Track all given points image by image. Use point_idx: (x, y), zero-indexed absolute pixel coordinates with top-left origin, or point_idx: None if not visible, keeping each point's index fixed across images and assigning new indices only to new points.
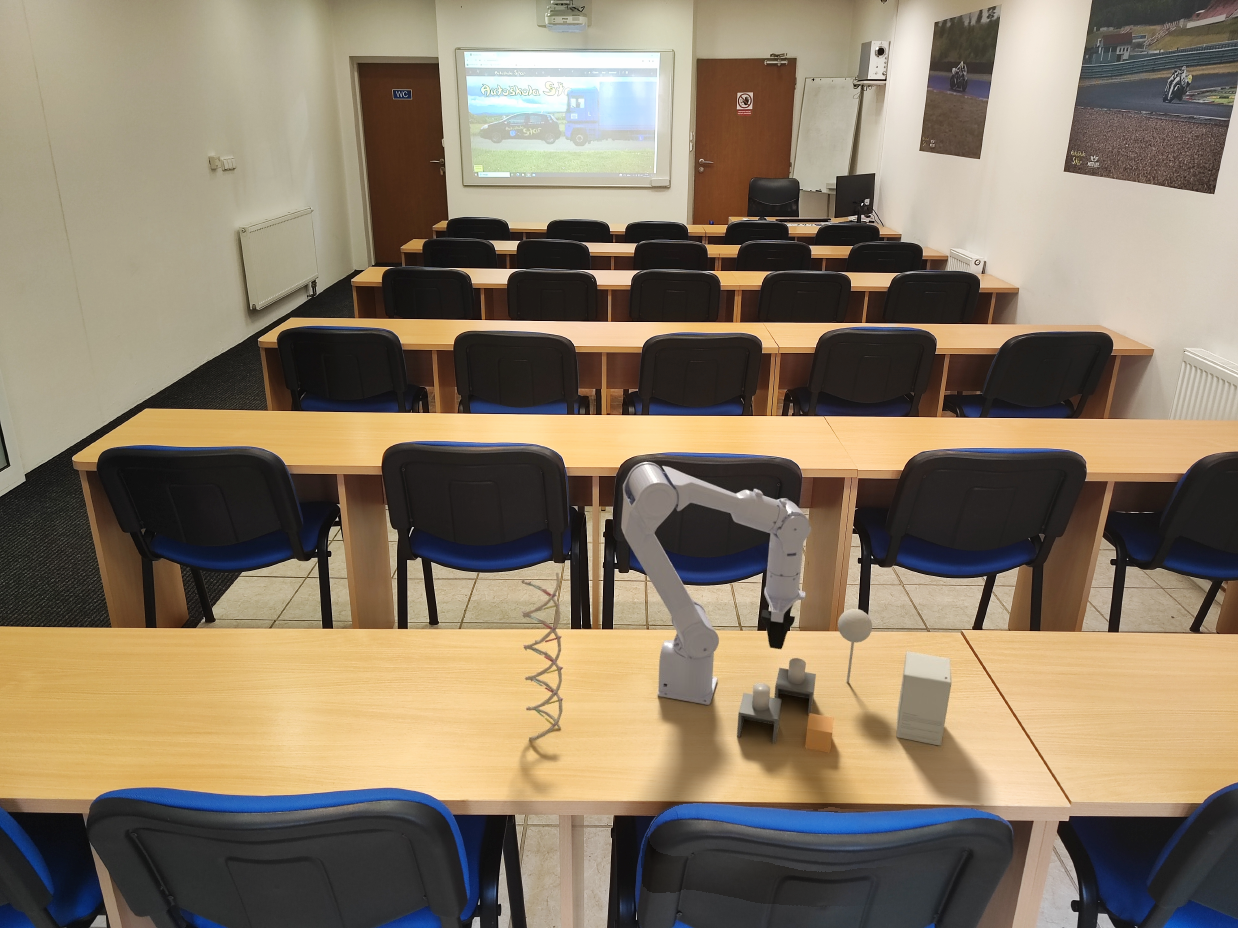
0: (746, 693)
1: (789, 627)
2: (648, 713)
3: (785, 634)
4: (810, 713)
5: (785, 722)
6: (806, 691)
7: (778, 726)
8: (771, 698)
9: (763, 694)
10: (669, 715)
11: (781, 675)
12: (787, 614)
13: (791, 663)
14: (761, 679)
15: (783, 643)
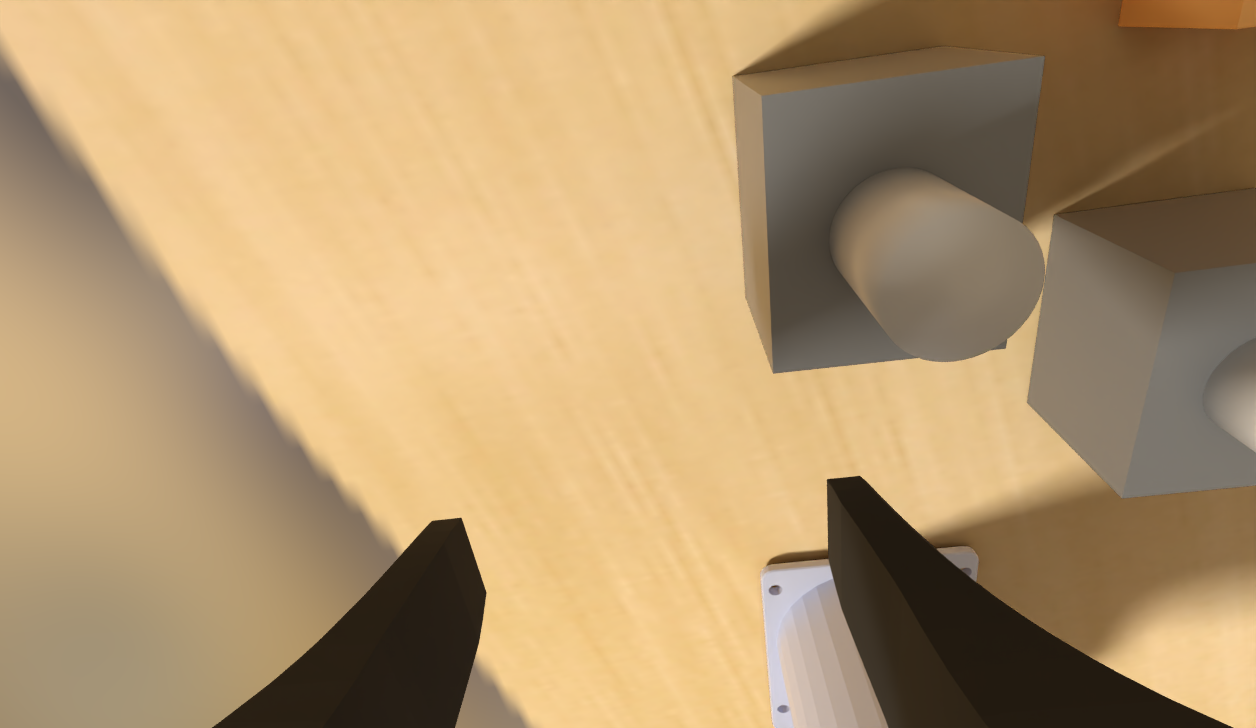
0: (1127, 481)
1: (1168, 701)
2: None
3: (1001, 602)
4: (1238, 19)
5: (1037, 182)
6: (1035, 115)
7: (1119, 211)
8: (1173, 336)
9: None
10: (1071, 643)
11: (866, 338)
12: (414, 614)
13: (988, 337)
14: (671, 394)
15: (893, 509)
